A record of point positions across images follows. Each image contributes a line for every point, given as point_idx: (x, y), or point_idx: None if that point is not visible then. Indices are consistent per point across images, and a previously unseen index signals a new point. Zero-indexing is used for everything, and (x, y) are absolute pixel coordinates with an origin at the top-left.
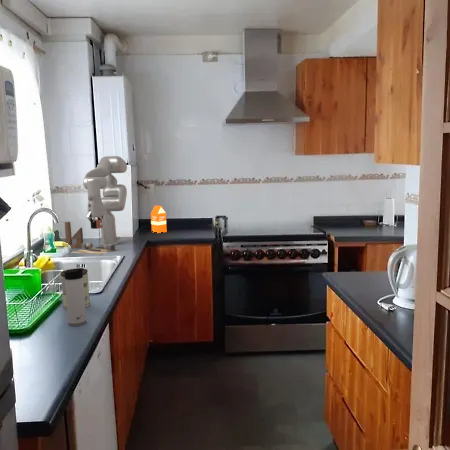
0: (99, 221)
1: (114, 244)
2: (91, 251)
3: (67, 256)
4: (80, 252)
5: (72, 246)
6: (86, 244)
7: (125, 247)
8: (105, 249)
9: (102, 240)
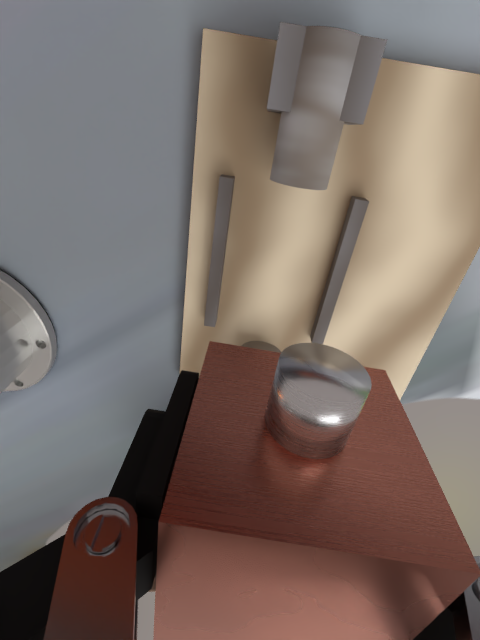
0: (313, 493)
1: (279, 34)
2: (358, 286)
3: (463, 394)
4: (399, 352)
5: None
6: None
7: (15, 85)
8: (253, 200)
9: (13, 377)
